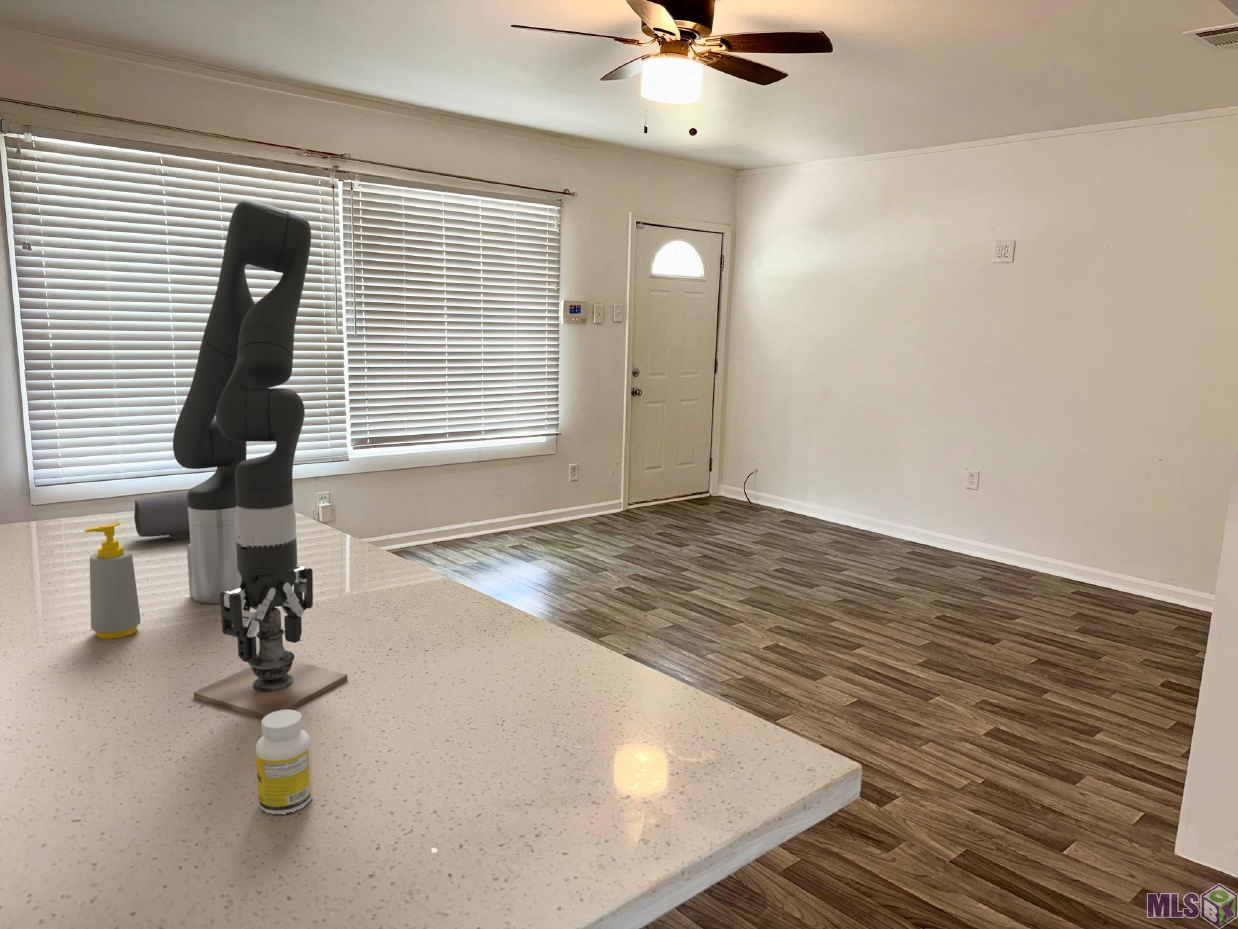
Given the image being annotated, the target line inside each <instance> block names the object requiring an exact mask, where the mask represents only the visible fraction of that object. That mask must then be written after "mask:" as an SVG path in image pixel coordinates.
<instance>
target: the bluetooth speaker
mask: <svg viewBox="0 0 1238 929" xmlns="http://www.w3.org/2000/svg"><path fill="white" fill-rule="evenodd" d="M187 495H188V492H184V493H175V494H167V495H166V494H165V495H159V496H158V495H157V496H151V497H145V498H142V499H141V498H139V499H136V500H135V501H134V512H133V513H134V514H133V516H134V517H133V518H134V524H135V528H136V533H137V535H138V536H139V537H140V538H141V537H142V538H144V537H145V538H150V537H161V536H162V537H165V536H169V538H170V539H172V540H174V539H175V540H176V539H177V540H178V539H185V538H190V531H189V516H188V500H187Z"/></svg>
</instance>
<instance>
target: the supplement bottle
mask: <svg viewBox="0 0 1238 929" xmlns="http://www.w3.org/2000/svg"><path fill="white" fill-rule="evenodd" d="M260 724H261V735H262V736H261V737H260V738H259V739H258V740H257V742H256V745H255V759H256V760H255V762H256V778H257V789H258V790H257V792H258V794H257V795H258V805H259V808H260V807H261V808H260V809H261V811H263V810H264V811H265V812H268V813H272V814H273V813H274V814H283V813H288V812H292V811H295V810H298V809H300V808H301V807H303V806H305V805H306V804H307V803H308V802H309V801H310V802H311V800H312V799H313V794H314V793H313V790H314V789H313V774H312V773H313V772H312V768H313V767H312V752H311V751H312V749H311V737H310V735H309V734H308V732H307V731H306V730H304V729H303V715H302V713H301V712H300V711H298V710H296V709H293V710H280V711H275V712H272V713H270V714H268V715H266V716H265V717H264V718H263V719H261V723H260ZM311 798H312V799H311ZM310 802H309V803H310ZM309 803H308V804H309ZM308 804H307V805H308ZM307 805H306V806H307ZM306 806H305V807H306ZM303 808H304V807H303ZM300 810H301V809H300ZM264 811H263V812H264ZM298 811H299V810H298ZM265 812H264V813H265ZM268 813H267V814H268ZM272 814H271V815H272Z"/></svg>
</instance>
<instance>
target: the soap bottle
mask: <svg viewBox="0 0 1238 929" xmlns="http://www.w3.org/2000/svg"><path fill="white" fill-rule="evenodd" d="M120 525H121V522H118V521H117V522H112V523H109V524H104V525H100V526H93V527H88V528H86V529H84V532H85V533H93V532H94V533H95V532H96V533H103V534H104V536H105V537H106V540H103V541H102V542H101V547H100V548H99V547H98V548H97V552H95V553H93V554H91V555H90V556H89V583H90V584H89V590H90V594H89V596H90V598H89V599H90V629H91V630H92V631H94V633H95V635H96V637H97V638H99V639H105V640H106V639H107V640H110V639H111V640H112V639H121V638H123V637H128V636H130V635H133V634H134V633H136V631H137V629H138V625H140V624H141V622H142V620H141V618H142V617H141V611H140V606H139V605H140V603H139V598H138V589H137V582H136V575H135V574H136V573H135V566H134V560H133V559H134V558H133V553H132V551H130V550H126V549H124V546H122V545H120V542H119V540H117V539H114V536H115V533H116V532H115V528H116V527H118V526H120Z"/></svg>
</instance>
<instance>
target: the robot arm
mask: <svg viewBox="0 0 1238 929" xmlns="http://www.w3.org/2000/svg"><path fill="white" fill-rule="evenodd" d="M227 229H228V230H227V233H226V240H225V244H224V250H223V255H222V256H223V257H222V260H221V267H220V272H219V277H218V283H217V286H216V287H217V288H216V291H215V295H214V298H213V301H212V305H211V309H210V312H209V315H208V319H207V322H206V326H205V328H204V331H203V336H202V339H201V342H200V348H199V351H198V358H197V363H196V365H195V370H194V373H193V378H192V381H191V385H190V388H189V391H188V394H187V396H186V399H185V401H184V403H183V406H182V409H181V411H180V413H179V416H178V419H177V422H176V425H175V428H174V431H173V437H172V450H173V455H174V458H175V461H176V462H177V463H178V465H180V466H181V467H183V468H185V469H189V470H201V469H211V468H216V470H215V472H214V473H213V474H212V475H211V476H210V477H209V478H207V479H206V480H205V481H203V482H201V483H198V484H197V485H195V486H193V487H192V488H190V489H189V490H188V492H187V493H188V495H187V500H188V516H189V531H190V537H189V544H188V545H187V546H186V554H187V555H186V556H187V557H186V558H187V570H188V573H187V574H188V585H189V587H188V588H189V596H190V597H192V598H193V600H194V601H195V602H197V603H201V604H210V605H211V604H219V605H220V606H219V607H220V615H221V628H222V634H223V635H227V636H232V637H234V638H236V639H237V654H238V655H237V656H238V658H239V659H240V660H241V662H245V663H248V664H249V663H252V662H255V661H256V660H257V654H258V652H257V636H256V635H255V633H256V631H257V628H258V627H259V622H260V621H262V620H263V618H264V616H265V613H266V612H267V611H270V610H271V609H273V608H274V607H275V608H278V607H279V608H280V607H281V609H282V611H283V613H285V615H284V616H283V617H284V619H283V620H284V631H285V632H284V639H285V641H286V642H289V643H293V644H296V643H298V642H300V641H301V636H302V633H303V629H302V628H303V627H302V616H303V615H304V612H305V611H306V610H307V609H311V608H312V607H313V604H314V593H313V592H314V580H313V577H314V576H313V574H314V572H313V568H311V567H307V566H302V565H301V566H300V565H298V544H297V541H298V539H297V538H298V537H297V518H296V512H295V507H294V506H295V505H294V495H293V494H294V488H293V487H294V486H293V470H294V468H293V467H294V460H295V455H296V450H297V446H298V442H299V439H300V436H301V432H302V429H303V425H304V420H305V412H306V410H305V405H304V402H303V400H302V398H301V397H300V395H299V394H298V392H296V391H294V390H293V389H291V388H281V387H279V388H275V387H278V386H282V385H283V384H285V383H287V382H288V381H289V380H290V379H291V376H292V373H293V366H294V364H293V362H294V343H295V329H296V323H297V322H296V321H297V317H298V313H299V308H300V304H301V300H302V294H303V290H304V284H305V280H306V274H307V269H308V265H309V264H308V263H309V258H310V253H311V242H312V229H311V225H310V222H309V221H308V219H307V218H305V216H302V215H301V214H298V213H295V212H292V211H289V210H286V209H284V208H283V209H282V208H280V207H277V206H273V205H270V204H267V203H263V202H260V201H255V200H251V199H248V198H247V199H241V200H240V201H239V202H237V204H236V206H235V208H234V209H233V212H232V214H231V216H230V221H229V225H228V228H227ZM247 265H250V266H253V267H257V268H260V269H264V270H268V271H272V272H276V273H281V274H282V276H281V277H280V280H279V281H278V283H277V284H276V285H275V286H274V287H273V288H272V289H271V290H270V291H269V292H267V293H266V294H265V295H264V296H263V297H262V298H261V299H258V301H257V302H255V301H254V299H253V297H252V294H251V291H250V288H249V285H248V282H247V281H248V280H247V276H246V268H245V267H246V266H247ZM252 442H253V443H254V442H264V443H265V442H275V443H276V444H275V448H274V450H273V451H272V452H271V453H269V454H266V455H263V456H258V457H254V458H249V459H247V450H248V449H247V443H252ZM251 608H252V609H253V610H255V611H254V612H252V611H250V610H251Z"/></svg>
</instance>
